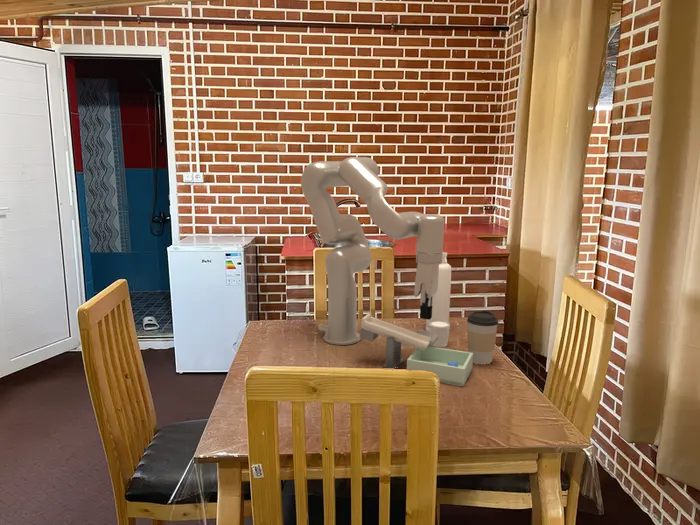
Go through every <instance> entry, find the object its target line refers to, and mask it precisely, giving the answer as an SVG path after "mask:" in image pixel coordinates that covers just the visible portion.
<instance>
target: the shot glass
mask: <svg viewBox="0 0 700 525" xmlns="http://www.w3.org/2000/svg"><path fill="white" fill-rule="evenodd" d="M450 330H451V324H450V322H449V323H447V322H443V321H433V322H430V323H429V333H432V334H435V335H438V339H437V340H436V342H435V343H434V344H433V345H431V347H438V348H444V347H447V346H448V342H449V337H450Z"/></svg>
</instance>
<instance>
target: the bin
mask: <svg viewBox="0 0 700 525" xmlns="http://www.w3.org/2000/svg"><path fill="white" fill-rule="evenodd" d="M451 361H454V362H456V363H457V365H458V367H455V366H449V365H448V363H449V362H451ZM407 369H411V370H428V371H432V372H434V373H436V374H437V375H438V376H439V378H440V382H439V383H440V384H445V385H446V384H447V385H452V386H457V387H465V384H466V383H467V381H468V379H469V376H470V375H471V372H472V371H473V353H470V352H468V351H462V350H457V349H451V348H444V347H435V346H432V345H428V346H427V348H426V349H425V350H424V351H423V350H420V349H418V348H415V350H414V351H413V352H412V353H411V354H410V356H409V357H408V358H407V359H406V370H407ZM442 382H443V383H442Z"/></svg>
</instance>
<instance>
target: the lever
mask: <svg viewBox="0 0 700 525" xmlns="http://www.w3.org/2000/svg"><path fill="white" fill-rule="evenodd" d="M359 328H360V329H361V330H360V333H359V334H360V338H361V339H363V340H366V341H368V342H371V343H372V342H373V341H374V340H376V339H377V338H378V337H379V335H380V336H382V337H385V338H387V337H390V338H394V340H396V341H398V342H401V343H402V344H404V345H407V346H410V347H412V348H415V349H417V348H418V349H420V350H423V351H424V350H425V349H426V348H427V346H432V345H433V344H434V343H435V342H436V340H437V339H438V335H435V334H432V333H430V332H428V331H426V330H424V329H421V328H419V329H418V330H417V331H413V330H410V329H408V328H404V327H402V326H400V325H396V324H394V323H391V322H389V321H384V320H383V319H379V318H376V317H374V316H372V313H367V314H366V315H365V316H363V317H362V318H361V323H360V326H359Z"/></svg>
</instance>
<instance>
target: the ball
mask: <svg viewBox="0 0 700 525" xmlns="http://www.w3.org/2000/svg"><path fill="white" fill-rule="evenodd" d="M448 365H449V366H455V367H458V365H457V363H456V362H454V361H451V362H449V363H448Z"/></svg>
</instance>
